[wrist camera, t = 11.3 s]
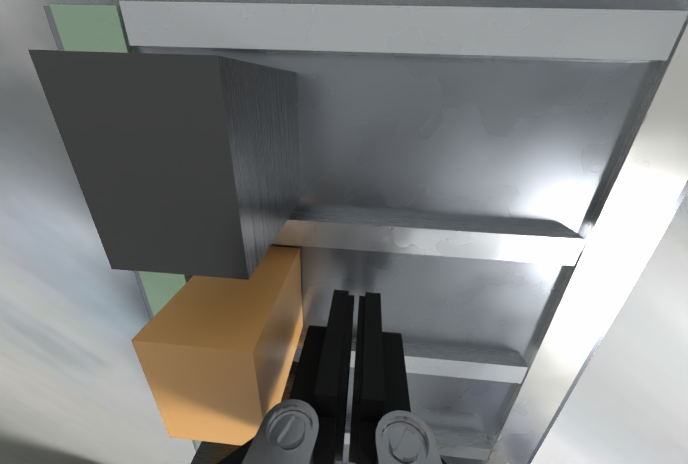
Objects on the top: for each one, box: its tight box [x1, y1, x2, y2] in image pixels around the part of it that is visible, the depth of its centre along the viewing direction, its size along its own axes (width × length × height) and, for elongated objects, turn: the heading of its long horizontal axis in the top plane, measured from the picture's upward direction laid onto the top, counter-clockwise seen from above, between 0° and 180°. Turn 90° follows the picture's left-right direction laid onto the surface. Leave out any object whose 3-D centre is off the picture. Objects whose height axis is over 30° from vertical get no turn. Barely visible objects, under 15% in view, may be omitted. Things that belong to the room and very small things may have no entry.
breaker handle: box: [131, 246, 303, 446], centre depth 10 cm, size 3×4×5 cm
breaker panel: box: [29, 1, 688, 464], centre depth 12 cm, size 20×25×7 cm
